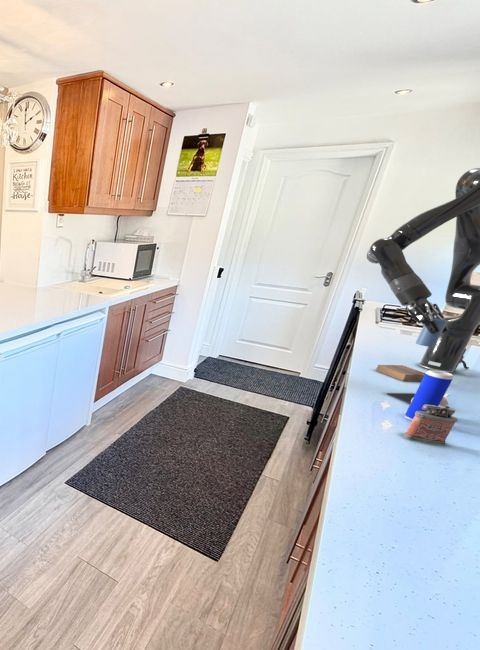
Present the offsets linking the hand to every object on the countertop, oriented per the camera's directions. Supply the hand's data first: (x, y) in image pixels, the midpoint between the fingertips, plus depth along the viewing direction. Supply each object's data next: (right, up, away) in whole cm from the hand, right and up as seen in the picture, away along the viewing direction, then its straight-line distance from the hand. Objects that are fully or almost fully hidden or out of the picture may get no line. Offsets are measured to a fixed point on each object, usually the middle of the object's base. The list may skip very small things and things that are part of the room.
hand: (439, 332), depth 134 cm
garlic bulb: (-19, -26, -12) cm, 35 cm away
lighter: (-36, -31, -27) cm, 55 cm away
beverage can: (-26, -27, -16) cm, 41 cm away
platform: (+6, -15, +18) cm, 24 cm away
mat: (-12, -23, -4) cm, 26 cm away
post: (-1, -4, +4) cm, 5 cm away
